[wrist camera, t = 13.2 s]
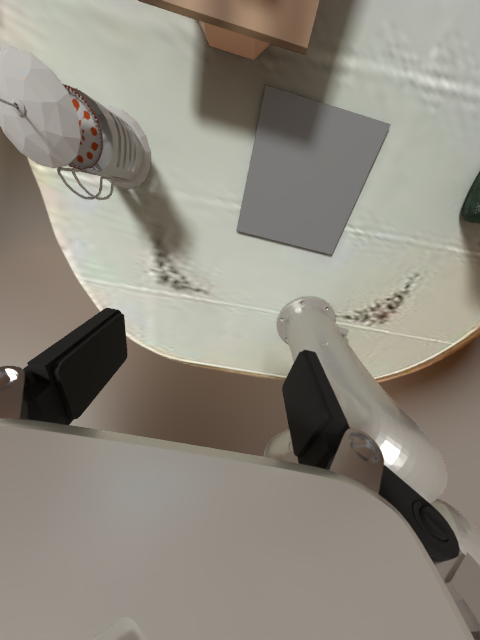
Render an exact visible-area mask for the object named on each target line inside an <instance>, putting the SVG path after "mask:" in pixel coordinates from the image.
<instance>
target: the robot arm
mask: <svg viewBox="0 0 480 640" xmlns="http://www.w3.org/2000/svg"><path fill="white" fill-rule="evenodd" d="M301 301H302V302H301ZM335 322H336V317H335V313H334V311H333V309H332V307H331V306H330V305H329V304H328V303H327V302H325V301H324V300H322V299H320V298H316V297H303V298H299V299H296V300H294V301H292V302H290V303H289V304H287V305H286V306H285V307H284V308H283V309H282V311H281V312H280V314H279V316H278V319H277V330H278V333H279V336H280V337H281V338H282V340H283V341H285V342H286V343H288V344H289V346H290V350H291V353H292V357H293V360H294V364H293V366H292V368H291V370H290V372H289V374H288V376H287V378H286V380H285V382H284V384H283V389H282V391H283V397H284V402H285V407H286V413H287V419H288V424H289V429H288V430H286V431H284V432H282V433H280V434H278V435H277V436H275V437H274V438H273V439H272V440H271V441H270V442H269V443H268V445H267V447H266V449H265V453H264V457H260V456H254V455H248V454H242V453H236V452H231V451H225V450H219V449H213V448H207V447H201V446H195V445H189V444H183V443H177V442H171V441H165V440H158V439H152V438H146V437H139V436H134V435H128V434H121V433H115V432H108V431H102V430H96V429H90V428H83V427H77V426H70V425H69V424H70V423H71V422H72V421H73V420H74V419H77V418H78V417H80V416H81V415H82V413H83V412H84V411H85V410H86V408H87V407H88V406H89V405H90V403H91V402H92V401H93V400H94V398H95V397H96V396H97V395H98V393H99V392H100V391H101V390H102V389H103V387H104V386H105V385H106V384H107V382H108V381H109V380H110V379H111V377H112V376H113V375H114V374H115V373H116V371H117V370H118V369H119V367H120V366H121V365H122V364H123V363H124V361H125V360H126V358H127V344H126V332H125V321H124V315H123V314H121V312H120V311H119V310H115V309H111V308H105V309H104V310H102V311H101V312H99V313H98V314H97V315H95V316H94V317H92V318H91V319H89V320H88V321H86V322H85V323H84V324H82V325H81V326H79V327H78V328H77V329H75V330H74V331H72V332H71V333H69V334H68V335H66V336H65V337H64V338H62V339H61V340H59V341H58V342H56V343H55V344H54V345H52V346H51V347H49V348H48V349H46V350H45V351H44V352H42V353H41V354H39V355H38V356H36V357H35V358H34V359H32V360H31V361H29V362H28V366H27V367H25V368H24V369H22V368H20V367H16V366H2V367H0V640H480V532H479V530H478V529H477V528H476V527H475V526H474V525H473V524H472V523H471V522H470V521H469V520H468V519H467V518H466V517H465V516H464V515H463V514H462V513H460V512H459V511H458V510H457V509H455V508H454V507H452V506H451V505H449V504H448V503H446V502H444V501H442V500H439V499H438V498H439V497H440V496H441V495H442V493H443V492H444V490H445V487H446V485H447V469H446V466H445V463H444V461H443V458H442V456H441V455H440V453H439V451H438V450H437V448H436V447H435V446H434V444H433V443H432V441H431V440H430V439H429V437H428V436H427V435H426V434H425V433H424V432H423V430H422V429H421V428H420V427H419V426H418V425H417V424H416V423H415V422H414V421H413V420H412V419H411V418H410V417H409V416H408V415H407V414H406V413H405V412H404V411H403V410H402V409H401V408H400V407H399V406H398V405H397V404H396V403H395V402H394V401H393V400H392V399H391V398H390V396H389V395H388V394H387V393H386V392H385V391H384V390H383V389H382V388H381V386H380V385H379V384H378V383H377V382H376V380H375V379H374V378H373V377H372V375H371V374H370V373H369V372H368V370H367V369H366V368H365V366H364V365H363V364H362V362H361V361H360V359H359V358H358V357H357V355H356V354H355V353H354V351H353V350H352V348H351V347H350V346H349V344H348V339H347V338H344V337H343V336H342V335H347V334H348V329H345V328H339V327H338V326H337V324H336V323H335ZM341 334H342V335H341Z"/></svg>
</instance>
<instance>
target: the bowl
mask: <svg viewBox="0 0 480 640" xmlns="http://www.w3.org/2000/svg"><path fill="white" fill-rule="evenodd" d="M198 22H199V24H200V26H201V28H202V31H203V33H204V35H205V37H206V39H207V42H208V44H209V46H211V47H215V48H218V49H221V50H224V51H227V52H230V53H233V54H236V55H239V56H242V57H246V58H249V59H252V60H255V59H256V58H257V57H258V56H259V55H260V54H261V53H262V52H263V51H264V50H265V49H266V48H267V47H268V46H269V45H270V43H266V42H263V41H260V40H257V39H254V38H251V37H248V36H245V35H242V34H239V33H236V32H233V31H229V30H226V29H223V28H220V27H217V26H214V25H211V24H208V23H205V22H202V21H199V20H198Z"/></svg>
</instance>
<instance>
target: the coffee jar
mask: <svg viewBox="0 0 480 640" xmlns="http://www.w3.org/2000/svg"><path fill="white" fill-rule="evenodd" d="M463 216H464V218H465V219H466V220H467V221H469V222H474V223H480V173H479V174H478V176H477V178H476V180H475V181H474V183H473V185H472V187H471V190H470V192H469V194H468V196H467V199H466V201H465V204H464V207H463Z"/></svg>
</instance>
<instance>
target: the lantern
mask: <svg viewBox="0 0 480 640" xmlns="http://www.w3.org/2000/svg"><path fill="white" fill-rule="evenodd" d="M0 126H1V128H2V130H3V131H4V133H5V135H6V136H7V137H8V138H9V139H10V140H11V142H12V143H13V144H14V145H15V146H16V147H17V148H18V150H19V151H20V152H21V153H23V154H24V155H25V156H27V157H28V158H30V159H31V160H33V161H34V162H36V163H37V164H40V165H43V166H47V167H51V168H58V169H57V171H58V174H59V176H60V177H61V179H62V180H63V182H64V183H65V185H66V186H67V187H68V188H69V189H70V190H71V191H72V192H74V193H75V194H77V195H78V196H80V197H81V198H84V199H91V200H93V199H95V198H96V199H98V200H105V199H108V198H109V197H110V196H111V195H112V192H113V187H114V185H115V186H118V187H122V188H125V189H130V188H135V187H138V186H139V185H141V184H142V183H143V182H144V181H145V180H146V178H147V176H148V173H149V171H150V168H151V151H150V148H149V145H148V141H147V138H146V135H145V134H144V132H143V130H142V129H141V127H140V126H139V124H138V123H137V121H136V120H135V119H134V118H132V117H131V116H130V115H129V114H128V113H126V112H125V111H124V110H121V109H118V108H115V107H111V106H109V107H104V106H102V105H101V104H99V103H98V102H97V101H95V100H94V99H92V98H91V97H89V96H88V95H86V94H85V93H83V92H81V91H80V90H78V89H77V88H73V87H70V86H67V85H64V84H62V83H61V82H60V80H59V79H58V78H57V76H56V75H55V74H54V72H53V71H52V70H51V69H50V68H49V67H47V66H46V65H45V64H44V63H43V62H41V61H40V60H39V59H38V58H36V57H35V56H34V55H33V54H32V53H29V52H26V51H23V50H20V49H17V48H13V47H9V48H6V49H3V50H0ZM67 165H69V166H70V167H74V168H73V169H71V168H62V166H67ZM93 166H95V167H96V168H97V169H98V170H96V169H95V168H94V167H93ZM91 168H93V169H91ZM60 170H64V171H72V174H73V175H74V177H75V179H76V180H77V182H78V184H79V185H80V186H81V187H82V188H83V189H84V190H85V191H86V192H87V193H88V194H89V195H90V196H92V197H85V196H83V195H80V194H79V193H77V192H76V191H74V190H73V189H72V188H71V187H70V186H69V185H68V184H67V183H66V181H65V179H64V178H63V176H62V175H61V173H60ZM79 171H81V172H85V173H89V174H94V175H99V176H102V177H101V178H100V189H99V193H98V194H97V195H96V196H94V195H92V194H91V193H89V192H88V191H87V190H86V189H85V188H84V187H83V186H82V184H81V183H80V181H79V180H78V178H77V176H76V174H75V172H79ZM102 179H107V180H108V181H110V182H111V191H110V194H109V195H108V196H107V197H104V198H100V197H98V196H99V195H100V194H101V190H102Z"/></svg>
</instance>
